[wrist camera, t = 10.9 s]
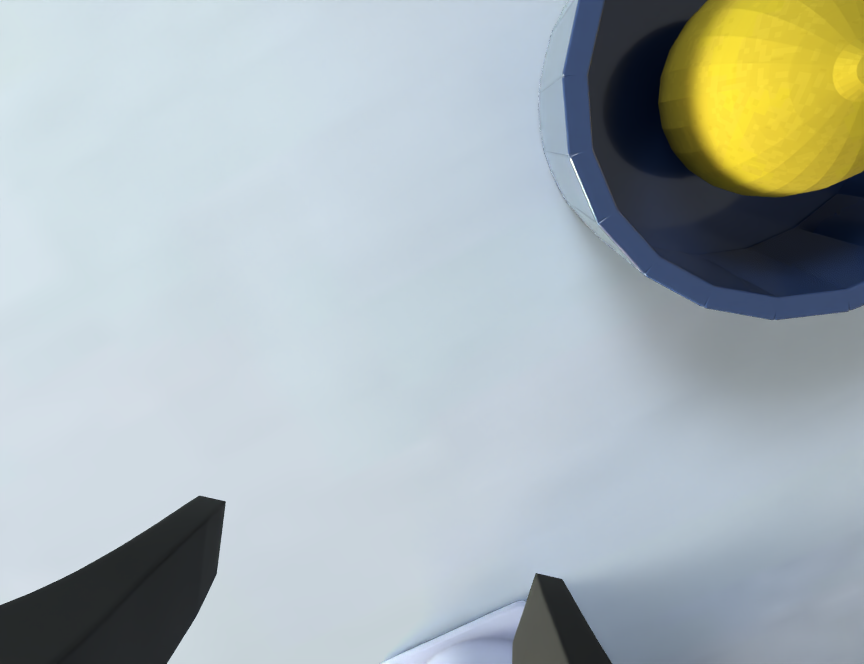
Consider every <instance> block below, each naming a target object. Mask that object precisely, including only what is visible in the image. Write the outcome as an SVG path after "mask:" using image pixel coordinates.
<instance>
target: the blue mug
mask: <svg viewBox="0 0 864 664" xmlns="http://www.w3.org/2000/svg"><path fill="white" fill-rule="evenodd" d="M706 1H707V0H568V2H567V3H566V5H565V7H564V8H563V10H562V13H561V15H560V17H559V19H558V21H557V23H556V24H555V26H554V28H553V30H552V34H551V35H550V39H549V44H548V48H547V51H546V54H545V58H544V63H543V68H542V73H541V78H540V88H539V96H538V97H539V103H538V107H539V125H540V132H541V138H542V143H543V150H544V152H545V156H546V159H547V162H548V165H549V168H550V171H551V173H552V175H553V177H554V179H555V181H556V183H557V186H558V188H559V190H560V191H561V193H562V195H563V197H564V199H565V200H566V202H567V204H568V205H569V206H570V207H571V208H572V209H573V210H574V211H575V213H576V214H577V215H578V216H579V217H580V218H581V219H582V221H583V222H584V223H585V224H586V225H587V226H588V227H589V228H590V229H591V230H592V231H593V232H594V233H595V234H596V235H597V237H598V238H600V239H601V240H602V241H603V242H604V243H606V244H607V245H608V246H609V247H610V248H612V249H613V250H614V251H615V252H617V253H618V254H619V255H620V256H621V257H623V258H624V259H625V260H626V261H627V262H629V263H630V264H631V265H632V266H633V267H635V268H636V269H637V270H638V271H639V272H641V273H642V274H643V275H645V276H646V277H648V278H650V279H651V280H653V281H655V282H657V283H659V284H661V285H662V286H664V287H666V288H668V289H670V290H672V291H674V292H675V293H677V294H679V295H681V296H683V297H685V298H686V299H688V300H690V301H692V302H694V303H696V304H697V305H699V306H703V307H704V308H707V309H713V310H718V311H724V312H729V313H735V314H741V315H746V316H752V317H757V318H763V319H769V320H780V319H789V318H798V317H806V316H815V315H823V314H832V313H841V312H848V311H849V310H853V309H856V308H858V307H861V306H863V305H864V171H862V172H861V173H859V174H857V175H854V176H852V177H850V178H848V179H845V180H843V181H841V182H838V183H836V184H834V185H831V186H829V187H827V188H824V189H821V190H817V191H811V192H806V193H801V194H796V195H791V196H785V197H761V196H746V195H740V194H737V193H734V192H730V191H727V190H724V189H721V188H718V187H715V186H713V185H711V184H709V183H707V182H706V181H704V180H703V179H701V178H700V177H698V176H697V175H695V174H694V173H692V172H691V171H689V170H688V169H687V168H686V166H685V165H684V164H683V163H682V162H681V160H680V159H679V158H678V157H677V156H676V154H675V153H674V152H673V151H672V149H671V147H670V145H669V143H668V140H667V138H666V136H665V134H664V131H663V129H662V125H661V118H660V112H659V106H658V99H659V89H660V78H661V74H662V71H663V68H664V65H665V62H666V59H667V56H668V53H669V51H670V49H671V47H672V46H673V44H674V42H675V41H676V39H677V37H678V36H679V34H680V32H681V31H682V29H683V27H684V26H685V24H686V23H687V21H688V20H689V19H690V18H691V17H692V16H693V15H694V14H695V13H696V12H697V11H698V10H699V9H700V8H701V7H702V6H703V5H704V3H705V2H706Z"/></svg>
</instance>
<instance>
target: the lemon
mask: <svg viewBox="0 0 864 664" xmlns="http://www.w3.org/2000/svg"><path fill="white" fill-rule="evenodd" d="M658 106H659V112H660V118H661V125H662V129H663V131H664V134H665V136H666V138H667V140H668V143H669V145H670V147H671V149H672V151H673V152H674V153H675V154H676V156H677V157H678V158H679V159H680V160H681V162H682V163H683V164H684V165H685V166H686V168H687V169H688V170H689V171H691V172H692V173H694V174H695V175H697V176H698V177H700V178H701V179H703V180H704V181H706V182H707V183H709V184H711V185H713V186H715V187H718V188H721V189H724V190H727V191H730V192H734V193H737V194H740V195H746V196H761V197H785V196H791V195H796V194H801V193H806V192H811V191H817V190H821V189H824V188H827V187H829V186H831V185H834V184H836V183H838V182H841V181H843V180H845V179H848V178H850V177H852V176H854V175H857V174H859V173H861V172H862V171H864V0H707V1H706V2H705V3H704V5H703V6H702V7H701V8H700V9H699V10H698V11H697V12H696V13H695V14H694V15H693V16H692V17H691V18H690V19H689V20H688V21H687V23H686V24H685V26H684V27H683V29H682V31H681V32H680V34H679V36H678V37H677V39H676V41H675V42H674V44H673V46H672V47H671V49H670V51H669V53H668V56H667V59H666V62H665V65H664V68H663V71H662V74H661V78H660V89H659V99H658Z"/></svg>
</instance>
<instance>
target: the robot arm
mask: <svg viewBox="0 0 864 664" xmlns="http://www.w3.org/2000/svg"><path fill="white" fill-rule="evenodd" d="M225 503H226V502H225V501H221V500H217V499H212V498H208V497H204V496H198V497H196V498H195V499H193V500H191V501H190V502H188V503H187V504H185V505H184V506H182V507H181V508H179V509H178V510H176V511H175V512H173V513H172V514H170V515H169V516H167V517H166V518H164V519H163V520H161V521H160V522H158V523H157V524H155V525H154V526H152V527H151V528H149V529H148V530H146V531H144V532H143V533H141V534H140V535H138V536H136V537H135V538H133V539H132V540H130V541H128V542H127V543H125V544H124V545H122V546H120V547H119V548H117V549H115V550H114V551H112V552H110V553H108V554H106V555H105V556H103V557H101V558H99V559H98V560H96V561H94V562H92V563H91V564H89V565H87V566H85V567H83V568H82V569H80V570H78V571H76V572H74V573H72V574H70V575H68V576H66V577H64V578H62V579H60V580H58V581H56V582H54V583H51V584H49V585H47V586H45V587H43V588H41V589H39V590H36V591H34V592H32V593H30V594H27V595H25V596H22V597H20V598H17V599H15V600H12V601H10V602H7V603H5V604H2V605H0V664H167V662H168V661H169V659H170V657H171V656H172V654H173V653H174V651H175V650H176V648H177V646H178V645H179V643H180V642H181V640H182V638H183V637H184V635H185V634H186V632H187V630H188V629H189V627H190V626H191V624H192V622H193V621H194V619H195V618H196V616H197V614H198V612H199V610H200V608H201V606H202V604H203V602H204V600H205V598H206V595H207V593H208V591H209V589H210V587H211V585H212V583H213V581H214V578H215V576H216V574H217V567H218V559H219V551H220V543H221V535H222V527H223V519H224V511H225ZM380 664H612V663H611V661H610V659H609V658H608V656H607V655H606V653H605V651H604V650H603V648H602V647H601V645H600V643H599V642H598V640H597V639H596V637H595V635H594V634H593V632H592V630H591V628H590V627H589V625H588V623H587V622H586V620H585V618H584V616H583V615H582V613H581V611H580V609H579V608H578V606H577V604H576V602H575V601H574V599H573V597H572V595H571V593H570V592H569V590H568V588H567V587H566V585H565V583H564V581H563V580H562V579H559V578H554V577H550V576H546V575H541V574H537V573H536V574H535V577H534V580H533V583H532V586H531V589H530V592H529V595H528V598H527V601H516V602H514V603H512V604H509V605H507V606H505V607H503V608H501V609H498V610H496V611H494V612H492V613H490V614H487V615H485V616H483V617H481V618H479V619H476V620H474V621H472V622H470V623H468V624H465V625H463V626H461V627H459V628H457V629H454V630H452V631H450V632H448V633H446V634H443V635H441V636H439V637H437V638H435V639H432V640H430V641H428V642H426V643H424V644H421V645H419V646H417V647H415V648H413V649H410V650H408V651H406V652H404V653H402V654H399V655H397V656H395V657H393V658H391V659H388V660H386V661H384V662H382V663H380Z"/></svg>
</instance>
